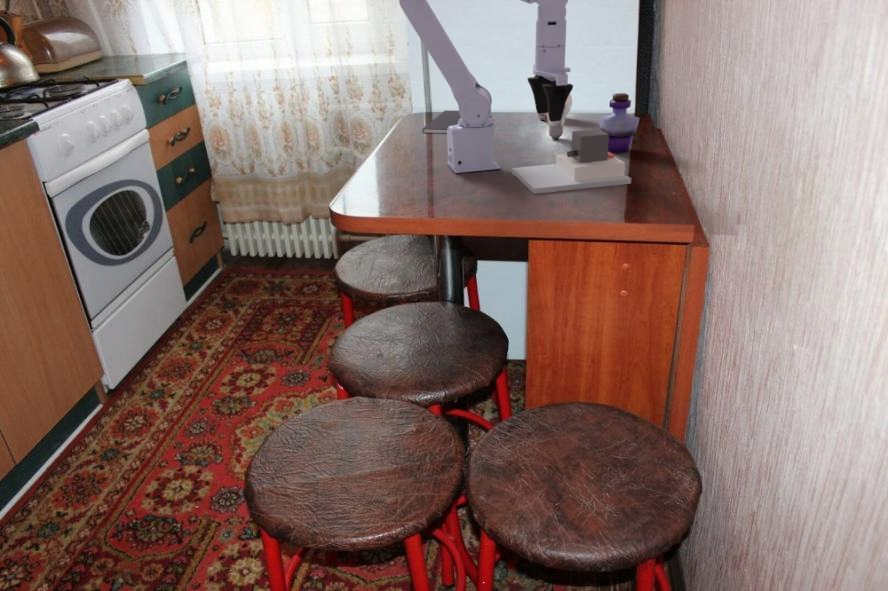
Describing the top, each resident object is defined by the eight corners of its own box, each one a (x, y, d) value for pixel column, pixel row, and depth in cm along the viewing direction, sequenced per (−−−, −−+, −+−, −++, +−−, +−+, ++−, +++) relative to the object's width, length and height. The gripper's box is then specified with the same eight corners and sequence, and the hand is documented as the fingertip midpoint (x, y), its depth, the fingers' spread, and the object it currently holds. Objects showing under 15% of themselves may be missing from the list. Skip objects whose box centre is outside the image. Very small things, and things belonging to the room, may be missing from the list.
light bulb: (576, 140, 166) (578, 86, 160) (549, 144, 163) (551, 90, 158) (561, 134, 171) (562, 82, 166) (535, 137, 169) (536, 85, 164)
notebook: (444, 116, 197) (422, 134, 178) (444, 110, 196) (422, 128, 178) (490, 117, 194) (472, 136, 175) (490, 111, 193) (472, 129, 175)
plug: (563, 163, 141) (564, 132, 138) (597, 160, 142) (599, 129, 139) (571, 169, 137) (572, 137, 134) (606, 166, 138) (608, 134, 135)
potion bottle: (645, 149, 156) (650, 93, 151) (620, 157, 151) (624, 99, 146) (614, 143, 162) (617, 88, 157) (588, 150, 157) (591, 94, 152)
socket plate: (555, 166, 143) (556, 151, 142) (603, 162, 145) (603, 146, 144) (574, 180, 135) (574, 164, 133) (624, 175, 136) (625, 159, 135)
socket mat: (534, 193, 132) (534, 188, 131) (512, 173, 144) (512, 168, 144) (630, 183, 135) (631, 178, 135) (601, 164, 147) (601, 159, 147)
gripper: (584, 48, 132) (581, 122, 138) (557, 40, 145) (555, 108, 151) (547, 51, 131) (546, 125, 137) (523, 42, 144) (523, 110, 150)
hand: (548, 116), depth 144 cm, fingers open, 7 cm apart
